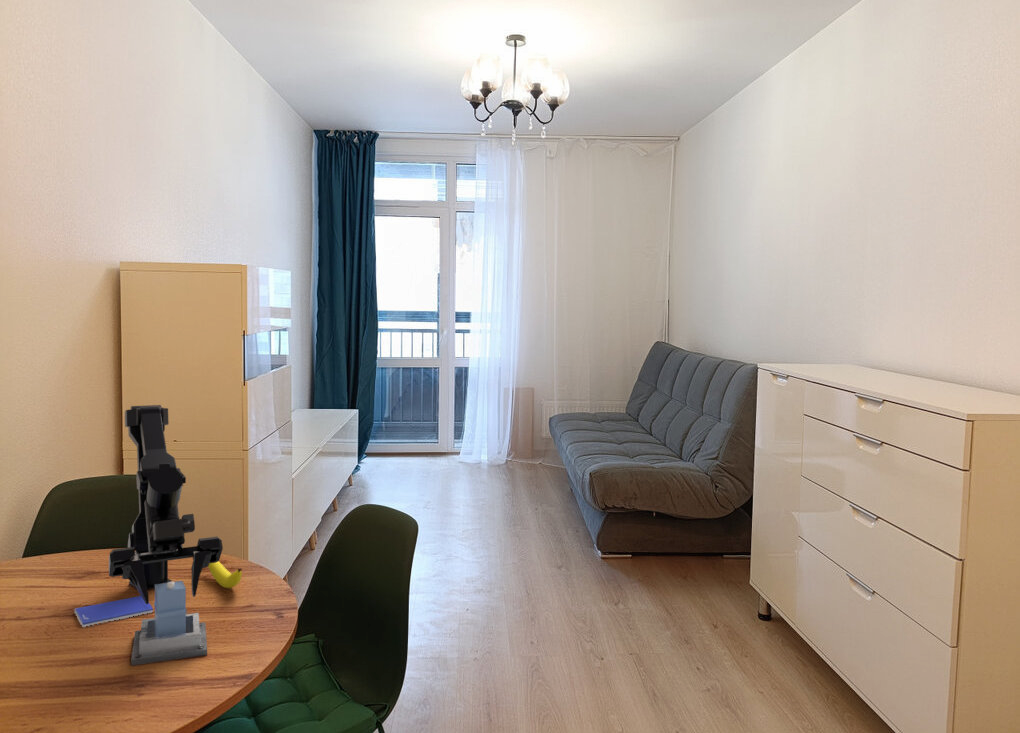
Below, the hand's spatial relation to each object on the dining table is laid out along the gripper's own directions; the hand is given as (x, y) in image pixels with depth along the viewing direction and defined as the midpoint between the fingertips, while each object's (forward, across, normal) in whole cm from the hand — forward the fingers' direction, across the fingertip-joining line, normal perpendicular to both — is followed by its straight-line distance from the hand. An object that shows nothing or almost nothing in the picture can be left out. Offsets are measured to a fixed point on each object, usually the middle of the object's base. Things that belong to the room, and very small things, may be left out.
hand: (171, 599), depth 135 cm
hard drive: (-8, -8, +22) cm, 25 cm away
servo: (+5, 0, +7) cm, 8 cm away
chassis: (+5, 0, +7) cm, 9 cm away
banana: (-13, +14, +26) cm, 32 cm away
